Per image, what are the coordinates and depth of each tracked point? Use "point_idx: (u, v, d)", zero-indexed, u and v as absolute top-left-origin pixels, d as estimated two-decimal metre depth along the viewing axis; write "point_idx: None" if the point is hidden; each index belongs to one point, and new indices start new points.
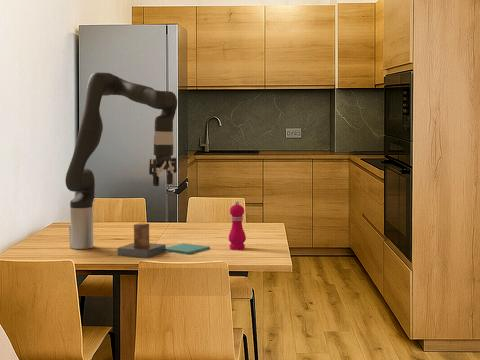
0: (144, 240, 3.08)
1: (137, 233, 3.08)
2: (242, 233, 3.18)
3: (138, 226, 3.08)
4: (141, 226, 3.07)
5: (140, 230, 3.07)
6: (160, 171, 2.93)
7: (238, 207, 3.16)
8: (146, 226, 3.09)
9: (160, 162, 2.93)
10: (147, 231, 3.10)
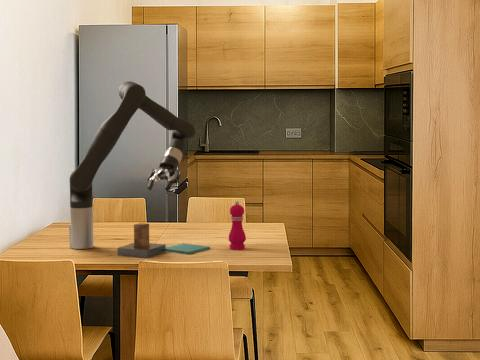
0: (144, 240, 3.08)
1: (137, 233, 3.08)
2: (242, 233, 3.18)
3: (138, 226, 3.08)
4: (141, 226, 3.07)
5: (140, 230, 3.07)
6: None
7: (238, 207, 3.16)
8: (146, 226, 3.09)
9: None
10: (147, 231, 3.10)
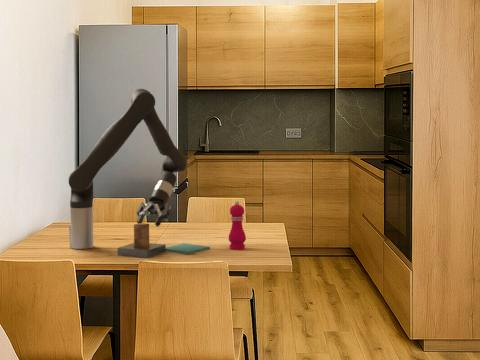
0: (144, 240, 3.08)
1: (137, 233, 3.08)
2: (242, 233, 3.18)
3: (138, 226, 3.08)
4: (141, 226, 3.07)
5: (140, 230, 3.07)
6: None
7: (238, 207, 3.16)
8: (146, 226, 3.09)
9: None
10: (147, 231, 3.10)
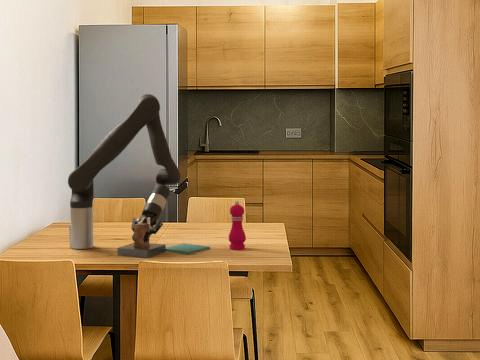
0: None
1: (137, 233, 3.08)
2: (242, 233, 3.18)
3: (138, 226, 3.07)
4: (141, 226, 3.07)
5: (140, 230, 3.07)
6: None
7: (238, 207, 3.16)
8: (146, 226, 3.09)
9: None
10: None
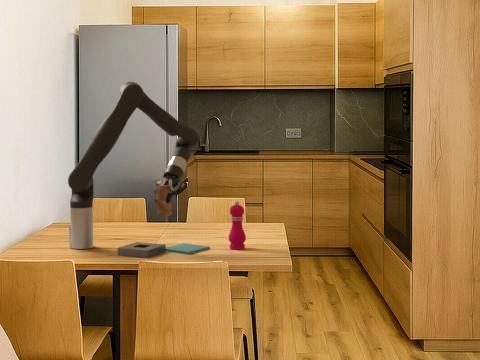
0: None
1: (159, 194, 3.10)
2: (242, 233, 3.18)
3: (160, 187, 3.09)
4: (163, 187, 3.09)
5: (162, 191, 3.09)
6: None
7: (238, 207, 3.16)
8: (168, 187, 3.11)
9: None
10: None
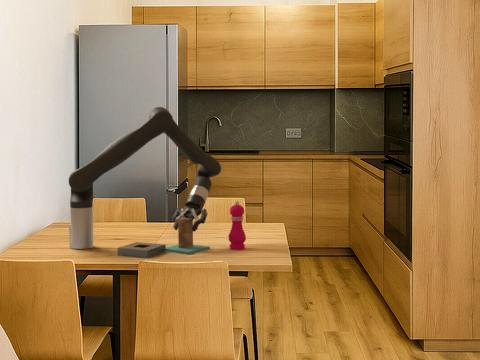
0: (188, 234, 3.15)
1: (181, 227, 3.15)
2: (242, 233, 3.18)
3: (182, 220, 3.15)
4: (185, 220, 3.14)
5: (184, 224, 3.15)
6: None
7: (238, 207, 3.16)
8: (190, 220, 3.16)
9: None
10: (191, 225, 3.17)
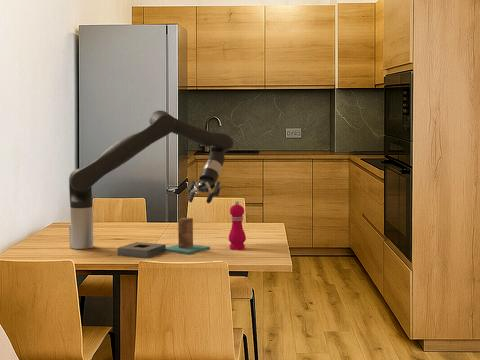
0: (188, 234, 3.15)
1: (181, 227, 3.15)
2: (242, 233, 3.18)
3: (182, 220, 3.15)
4: (185, 220, 3.14)
5: (184, 224, 3.15)
6: None
7: (238, 207, 3.16)
8: (190, 220, 3.16)
9: None
10: (191, 225, 3.17)
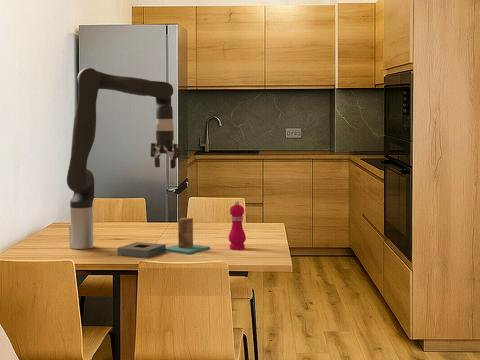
0: (188, 234, 3.15)
1: (181, 227, 3.15)
2: (242, 233, 3.18)
3: (182, 220, 3.15)
4: (185, 220, 3.14)
5: (184, 224, 3.15)
6: None
7: (238, 207, 3.16)
8: (190, 220, 3.16)
9: None
10: (191, 225, 3.17)
